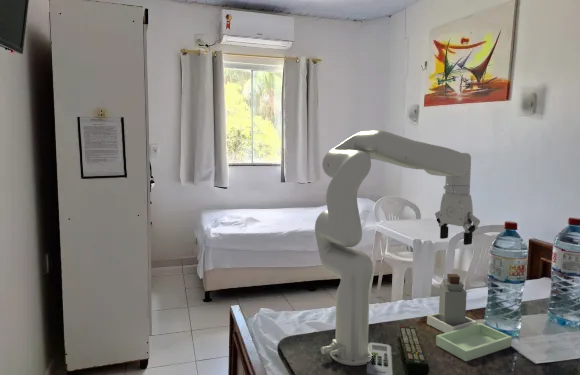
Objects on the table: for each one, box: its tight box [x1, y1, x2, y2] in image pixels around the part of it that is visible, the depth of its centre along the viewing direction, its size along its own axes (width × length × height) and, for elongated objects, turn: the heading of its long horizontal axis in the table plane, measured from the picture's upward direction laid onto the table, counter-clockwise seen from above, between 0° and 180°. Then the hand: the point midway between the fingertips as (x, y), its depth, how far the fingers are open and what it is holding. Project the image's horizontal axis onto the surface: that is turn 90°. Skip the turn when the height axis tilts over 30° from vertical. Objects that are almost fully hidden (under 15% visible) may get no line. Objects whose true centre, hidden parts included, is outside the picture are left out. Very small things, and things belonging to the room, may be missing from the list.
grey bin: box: [426, 312, 478, 334], centre depth 139 cm, size 11×11×3 cm
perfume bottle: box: [438, 273, 467, 326], centre depth 138 cm, size 7×7×18 cm
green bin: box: [435, 323, 513, 362], centre depth 126 cm, size 20×11×3 cm, turn 117°
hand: (455, 241), depth 137 cm, fingers open, 9 cm apart
